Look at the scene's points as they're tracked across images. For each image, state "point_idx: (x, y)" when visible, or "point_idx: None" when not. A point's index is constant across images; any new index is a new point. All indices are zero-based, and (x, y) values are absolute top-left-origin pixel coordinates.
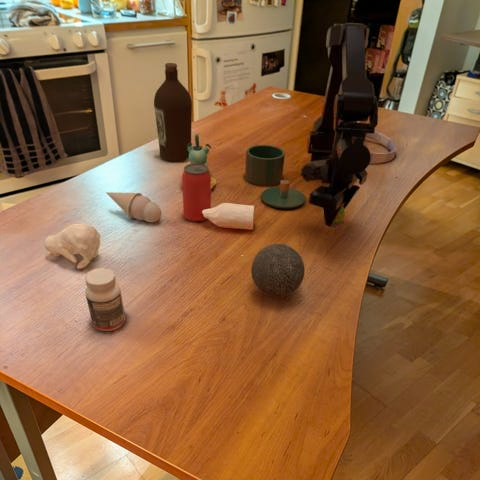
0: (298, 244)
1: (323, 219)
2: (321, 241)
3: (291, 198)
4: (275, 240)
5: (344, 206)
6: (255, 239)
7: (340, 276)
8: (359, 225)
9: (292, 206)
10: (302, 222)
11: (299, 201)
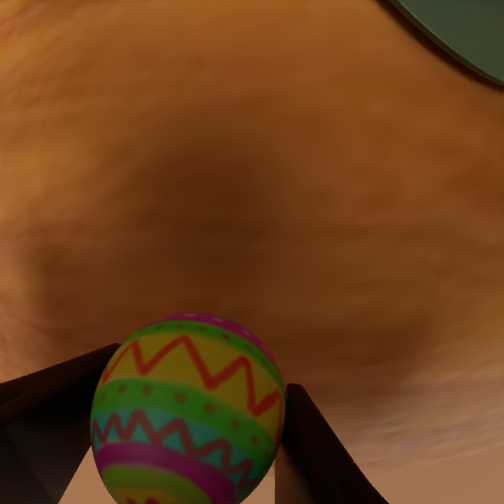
0: (36, 198)
1: (143, 327)
2: (110, 298)
3: (487, 8)
4: (27, 90)
5: (277, 495)
6: (20, 28)
7: (6, 373)
8: (367, 423)
9: (407, 11)
10: (268, 119)
11: (488, 53)
